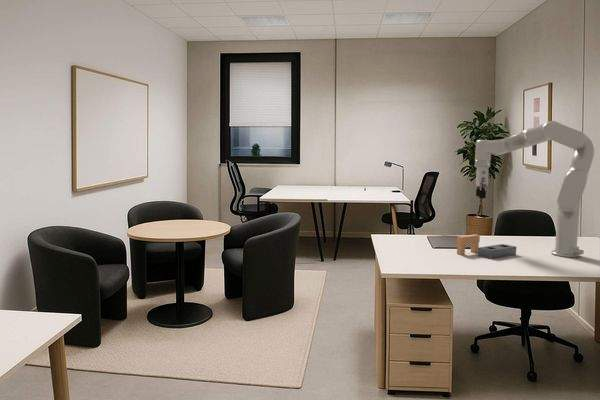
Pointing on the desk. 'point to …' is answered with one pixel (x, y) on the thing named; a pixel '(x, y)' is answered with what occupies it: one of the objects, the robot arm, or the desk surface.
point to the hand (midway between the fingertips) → (480, 197)
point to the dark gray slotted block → (496, 251)
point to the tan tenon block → (467, 239)
